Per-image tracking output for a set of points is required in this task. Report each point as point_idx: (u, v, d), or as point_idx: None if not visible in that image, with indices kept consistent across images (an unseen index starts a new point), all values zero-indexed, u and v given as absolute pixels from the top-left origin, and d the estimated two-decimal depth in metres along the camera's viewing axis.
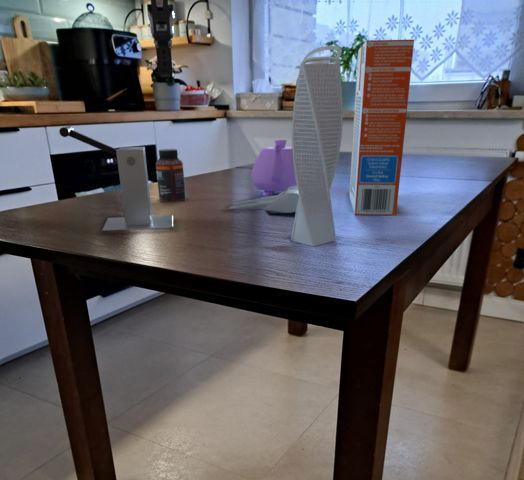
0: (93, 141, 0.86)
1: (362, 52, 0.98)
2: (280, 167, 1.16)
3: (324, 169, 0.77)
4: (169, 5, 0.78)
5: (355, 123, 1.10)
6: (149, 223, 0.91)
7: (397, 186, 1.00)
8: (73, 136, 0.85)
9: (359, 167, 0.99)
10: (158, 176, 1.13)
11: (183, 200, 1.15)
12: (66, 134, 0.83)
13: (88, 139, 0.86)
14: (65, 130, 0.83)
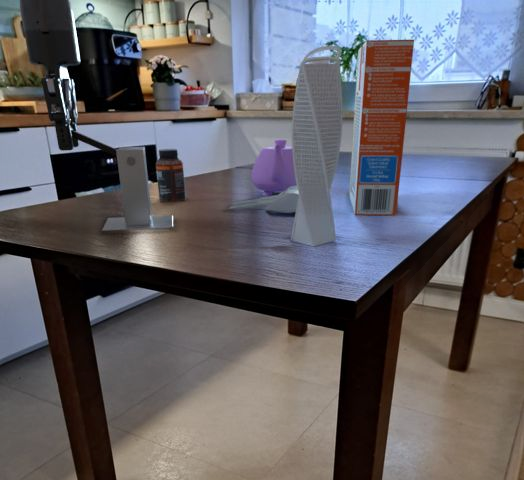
0: (93, 141, 0.86)
1: (362, 52, 0.98)
2: (280, 167, 1.16)
3: (324, 169, 0.77)
4: (65, 79, 0.80)
5: (355, 123, 1.10)
6: (149, 223, 0.91)
7: (397, 186, 1.00)
8: (73, 136, 0.85)
9: (359, 167, 0.99)
10: (158, 176, 1.13)
11: (183, 200, 1.15)
12: None
13: (88, 139, 0.86)
14: None
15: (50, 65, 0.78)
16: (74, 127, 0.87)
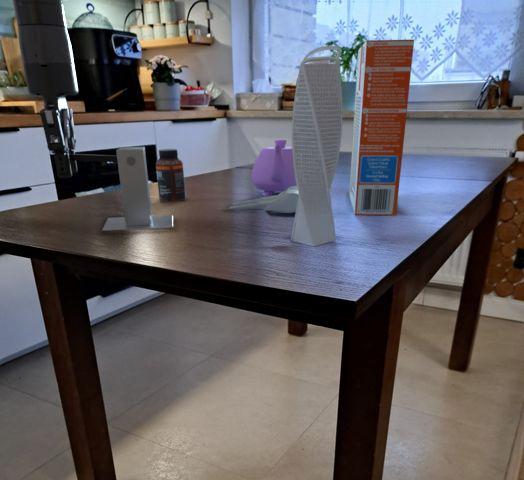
0: (91, 156, 0.87)
1: (362, 52, 0.98)
2: (280, 167, 1.16)
3: (324, 169, 0.77)
4: (64, 109, 0.82)
5: (355, 123, 1.10)
6: (149, 223, 0.91)
7: (397, 186, 1.00)
8: (72, 159, 0.87)
9: (359, 167, 0.99)
10: (158, 176, 1.13)
11: (183, 200, 1.15)
12: None
13: (86, 156, 0.87)
14: None
15: (49, 97, 0.79)
16: None
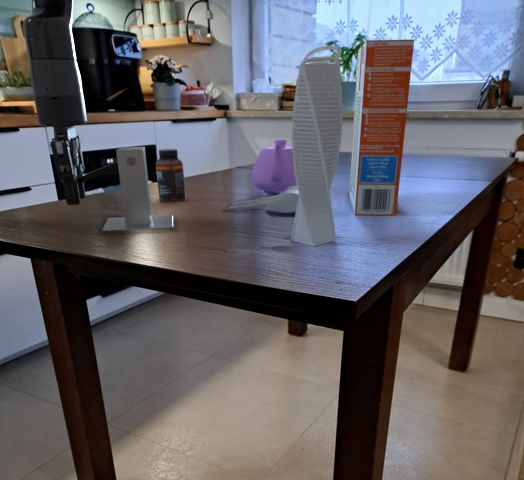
0: (95, 172, 0.88)
1: (362, 52, 0.98)
2: (280, 167, 1.16)
3: (324, 169, 0.77)
4: (73, 139, 0.84)
5: (355, 123, 1.10)
6: (149, 223, 0.91)
7: (397, 186, 1.00)
8: (79, 182, 0.88)
9: (359, 167, 0.99)
10: (158, 176, 1.13)
11: (183, 200, 1.15)
12: None
13: (90, 174, 0.88)
14: None
15: (58, 127, 0.81)
16: None
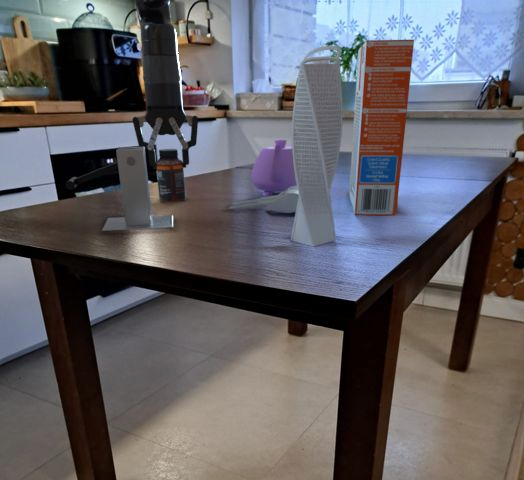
0: (95, 172, 0.88)
1: (362, 52, 0.98)
2: (280, 167, 1.16)
3: (324, 169, 0.77)
4: (157, 118, 1.08)
5: (355, 123, 1.10)
6: (149, 223, 0.91)
7: (397, 186, 1.00)
8: (79, 182, 0.88)
9: (359, 167, 0.99)
10: (158, 176, 1.13)
11: (183, 200, 1.15)
12: (73, 185, 0.86)
13: (90, 174, 0.88)
14: (69, 183, 0.86)
15: (146, 108, 1.08)
16: (182, 152, 1.12)
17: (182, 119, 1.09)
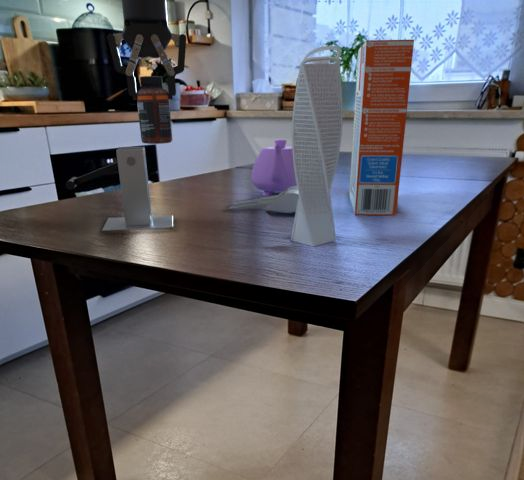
0: (95, 172, 0.88)
1: (362, 52, 0.98)
2: (280, 167, 1.16)
3: (324, 169, 0.77)
4: (137, 35, 0.90)
5: (355, 123, 1.10)
6: (149, 223, 0.91)
7: (397, 186, 1.00)
8: (79, 182, 0.88)
9: (359, 167, 0.99)
10: (139, 109, 0.95)
11: (169, 139, 0.97)
12: (73, 185, 0.86)
13: (90, 174, 0.88)
14: (69, 183, 0.86)
15: (124, 24, 0.90)
16: None
17: (167, 38, 0.91)
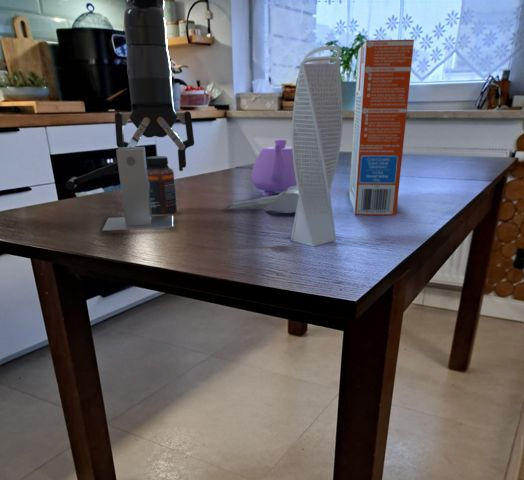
0: (95, 172, 0.88)
1: (362, 52, 0.98)
2: (280, 167, 1.16)
3: (324, 169, 0.77)
4: (144, 118, 0.94)
5: (355, 123, 1.10)
6: (149, 223, 0.91)
7: (397, 186, 1.00)
8: (79, 182, 0.88)
9: (359, 167, 0.99)
10: None
11: None
12: (73, 185, 0.86)
13: (90, 174, 0.88)
14: (69, 183, 0.86)
15: None
16: (178, 153, 0.98)
17: (173, 118, 0.95)
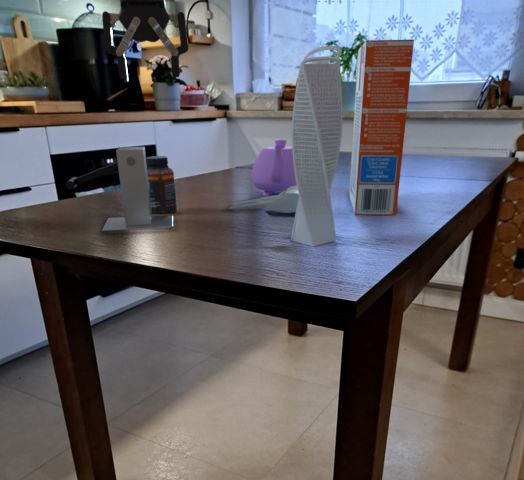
0: (95, 172, 0.88)
1: (362, 52, 0.98)
2: (280, 167, 1.16)
3: (324, 169, 0.77)
4: (134, 18, 0.87)
5: (355, 123, 1.10)
6: (149, 223, 0.91)
7: (397, 186, 1.00)
8: (79, 182, 0.88)
9: (359, 167, 0.99)
10: None
11: None
12: (73, 185, 0.86)
13: (90, 174, 0.88)
14: (69, 183, 0.86)
15: None
16: (171, 61, 0.91)
17: (165, 20, 0.88)
